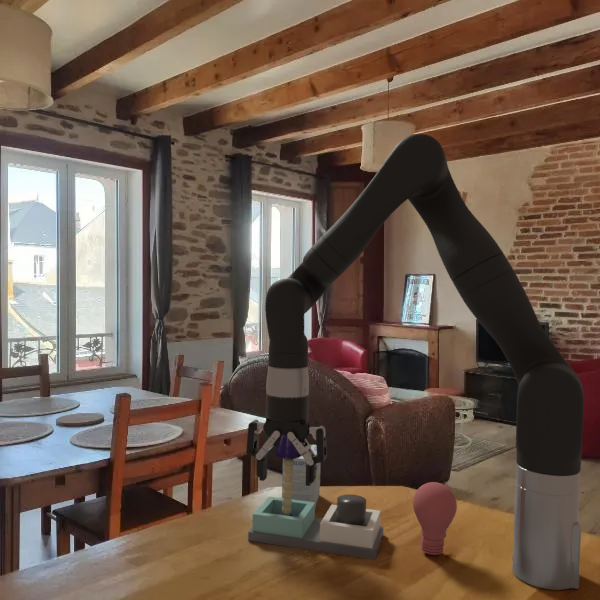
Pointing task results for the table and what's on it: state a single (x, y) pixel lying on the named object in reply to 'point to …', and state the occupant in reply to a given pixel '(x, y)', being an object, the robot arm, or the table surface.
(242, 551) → the table surface
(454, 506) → the light bulb
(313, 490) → the light bulb box
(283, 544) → the multicoloured piece
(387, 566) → the table surface
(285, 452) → the toy lamp
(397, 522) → the table surface
